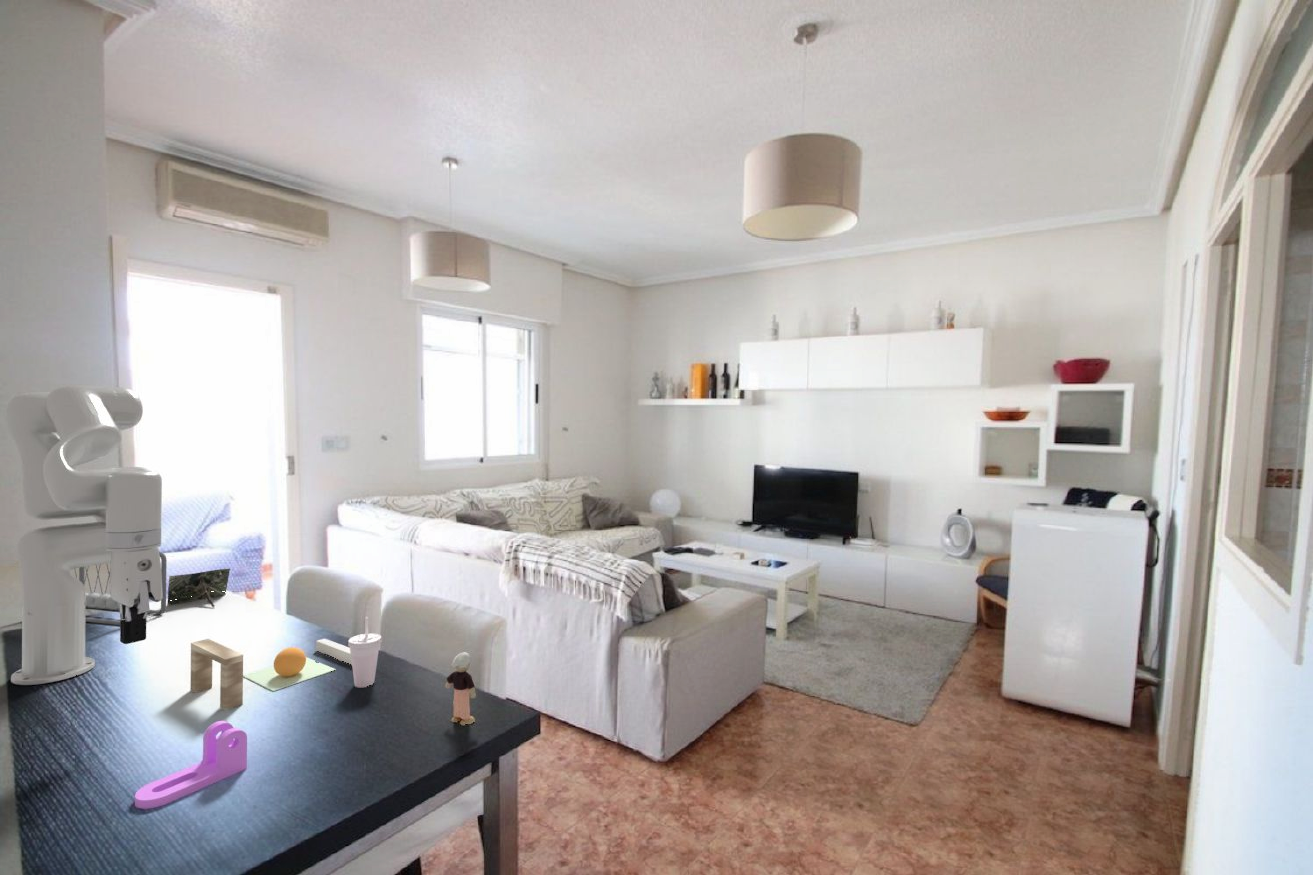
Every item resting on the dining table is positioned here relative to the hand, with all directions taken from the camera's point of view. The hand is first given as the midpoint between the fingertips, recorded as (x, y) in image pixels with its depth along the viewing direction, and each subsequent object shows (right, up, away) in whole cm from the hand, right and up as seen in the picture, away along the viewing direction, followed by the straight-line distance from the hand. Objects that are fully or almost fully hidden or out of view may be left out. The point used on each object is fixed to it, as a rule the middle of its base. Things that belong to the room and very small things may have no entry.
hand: (133, 640), depth 107 cm
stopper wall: (+20, -15, +33) cm, 41 cm away
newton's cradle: (-59, -13, +58) cm, 84 cm away
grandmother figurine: (+57, -17, +5) cm, 60 cm away
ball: (+15, -12, +22) cm, 29 cm away
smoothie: (+32, -16, +19) cm, 41 cm away
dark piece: (-45, -8, +73) cm, 86 cm away
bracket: (+23, -16, -17) cm, 33 cm away
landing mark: (+14, -15, +23) cm, 31 cm away
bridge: (+6, -15, +11) cm, 20 cm away
